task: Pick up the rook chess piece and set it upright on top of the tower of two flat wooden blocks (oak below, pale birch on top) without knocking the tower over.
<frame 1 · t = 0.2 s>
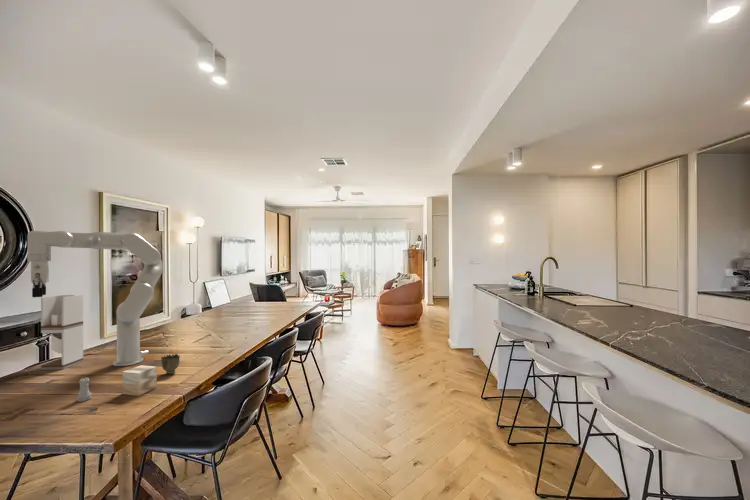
hand: (39, 296, 151), 37 cm above the table, tool pointing down, fingers open, 9 cm apart
tower base: (140, 391, 136), on the table, touching tower top
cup: (170, 373, 156), on the table
rook chess piece: (84, 400, 128), on the table
tower top: (139, 380, 136), point 4 cm above the table, touching tower base
display case: (62, 366, 168), on the table
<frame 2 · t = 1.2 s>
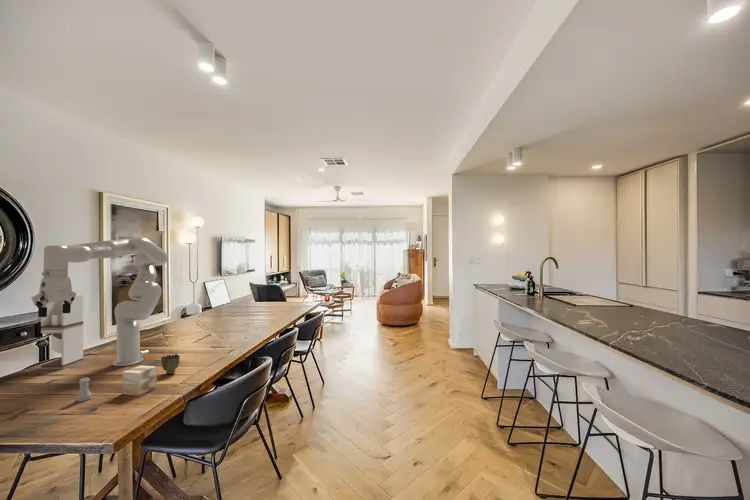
hand: (54, 315, 141), 30 cm above the table, tool pointing down, fingers open, 9 cm apart
nothing on the table moved.
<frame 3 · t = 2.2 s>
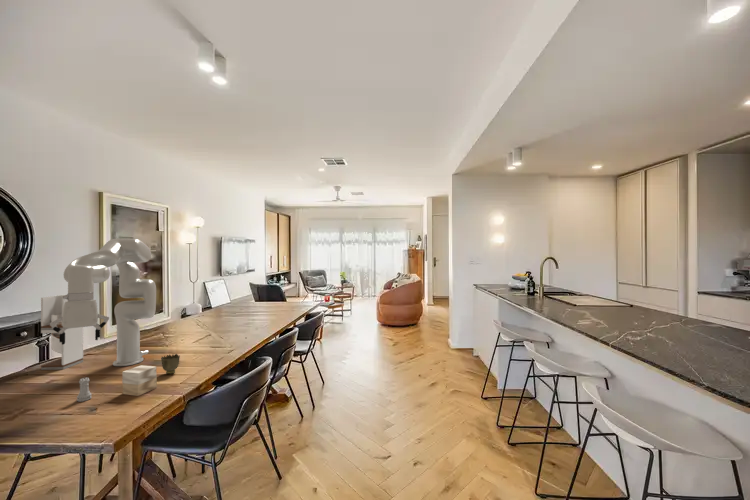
hand: (80, 341, 129), 22 cm above the table, tool pointing down, fingers open, 9 cm apart
nothing on the table moved.
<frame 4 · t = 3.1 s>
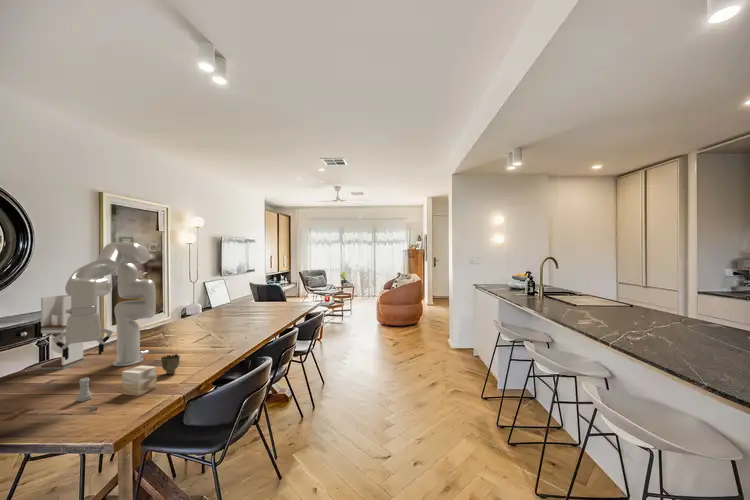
hand: (83, 356, 128), 17 cm above the table, tool pointing down, fingers open, 9 cm apart
nothing on the table moved.
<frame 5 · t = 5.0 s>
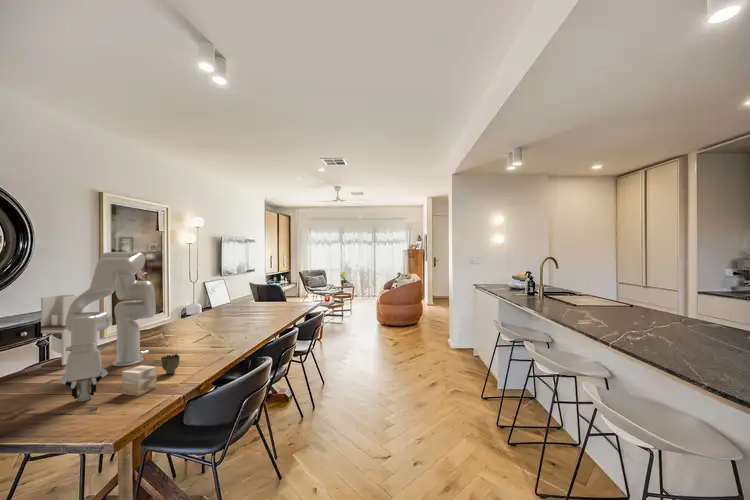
hand: (84, 395, 128), 2 cm above the table, tool pointing down, fingers closed on rook chess piece, 4 cm apart
rook chess piece: (84, 400, 128), on the table, touching gripper
everything else where it was.
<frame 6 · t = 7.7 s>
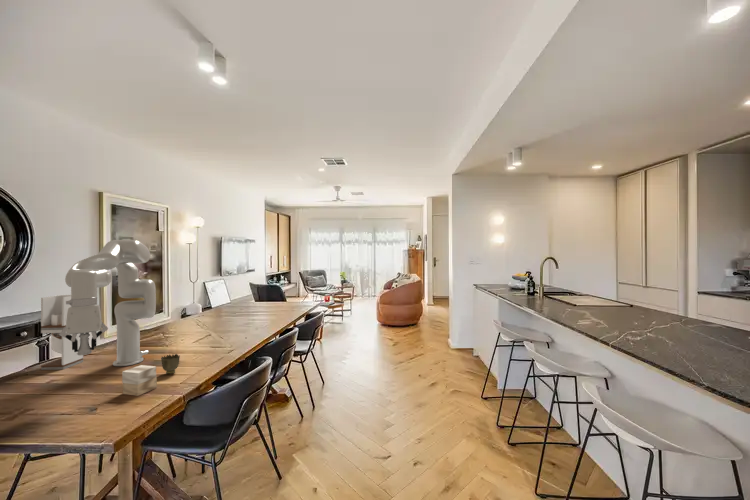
hand: (84, 349, 128), 19 cm above the table, tool pointing down, fingers closed on rook chess piece, 4 cm apart
rook chess piece: (84, 354, 128), point 17 cm above the table, touching gripper
everything else where it was.
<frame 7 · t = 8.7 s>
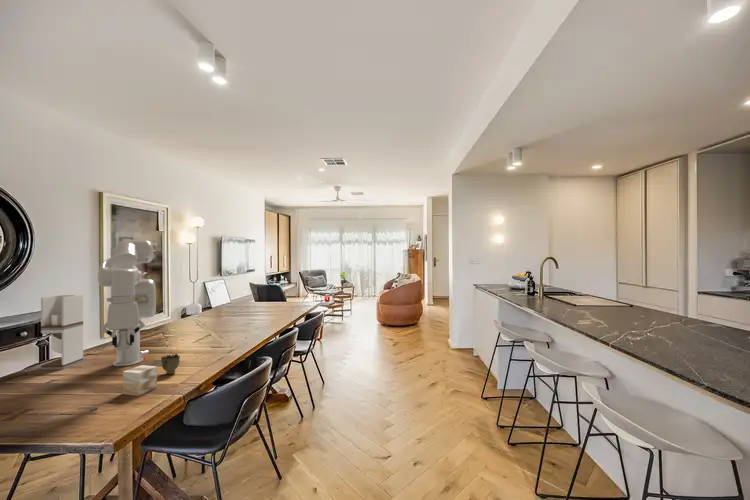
hand: (123, 345, 134), 19 cm above the table, tool pointing down, fingers closed on rook chess piece, 4 cm apart
rook chess piece: (123, 349, 134), point 17 cm above the table, touching gripper
everything else where it was.
when the fingers open (11 cm above the table, at t = 11.0 s): rook chess piece stays where it is, resting on tower top.
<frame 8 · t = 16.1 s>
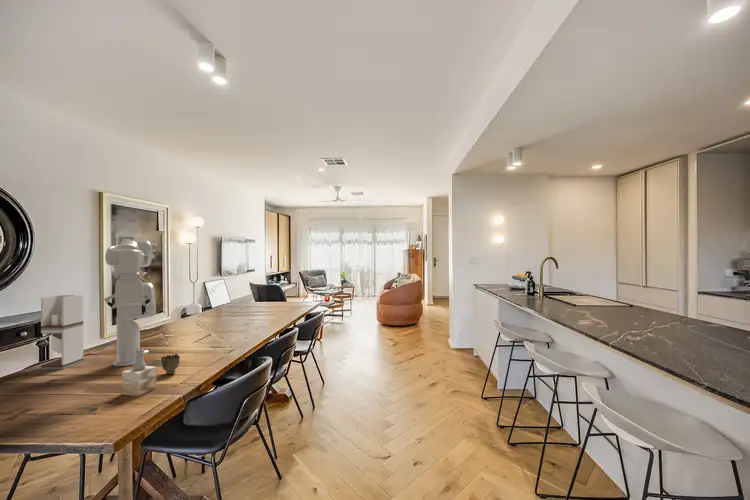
hand: (129, 315, 148), 28 cm above the table, tool pointing down, fingers open, 9 cm apart
rook chess piece: (139, 369, 136), point 9 cm above the table, touching tower top
tower top: (139, 380, 136), point 4 cm above the table, touching rook chess piece, tower base
everything else where it was.
at the end: rook chess piece 0.2 cm off-centre on the tower top, point 4.4 cm above the tower top's base; tower top 0.0 cm off-centre on the tower base, point 4.5 cm above the tower base's base; rook chess piece tilted 3° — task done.
